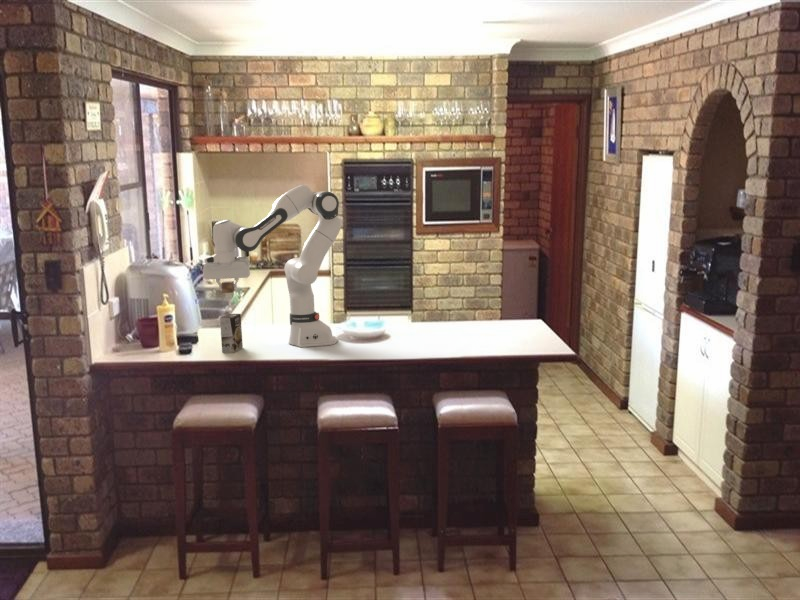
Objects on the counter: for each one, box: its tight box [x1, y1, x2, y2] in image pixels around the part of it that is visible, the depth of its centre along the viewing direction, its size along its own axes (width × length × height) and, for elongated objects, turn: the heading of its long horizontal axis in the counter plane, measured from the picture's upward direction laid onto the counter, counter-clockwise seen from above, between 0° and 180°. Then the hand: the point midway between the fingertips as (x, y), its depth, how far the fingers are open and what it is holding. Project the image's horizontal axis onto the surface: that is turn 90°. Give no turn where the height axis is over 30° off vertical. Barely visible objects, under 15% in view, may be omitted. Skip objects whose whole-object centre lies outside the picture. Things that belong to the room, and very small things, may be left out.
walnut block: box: [220, 280, 235, 294], centre depth 328 cm, size 4×4×4 cm
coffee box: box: [219, 313, 244, 354], centre depth 332 cm, size 9×6×16 cm
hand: (228, 288), depth 329 cm, fingers closed on walnut block, 4 cm apart
